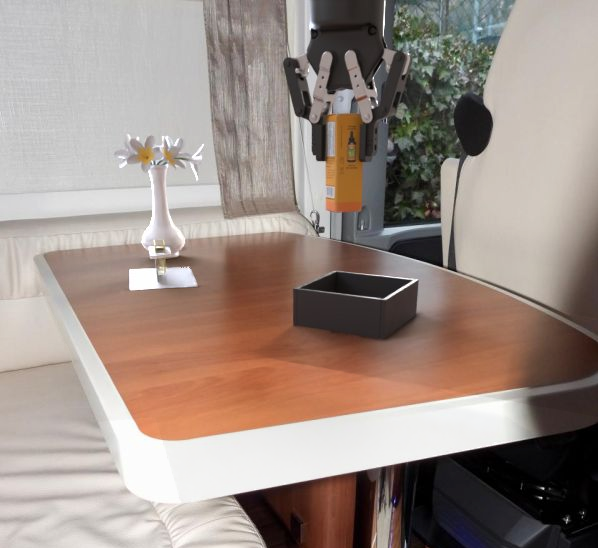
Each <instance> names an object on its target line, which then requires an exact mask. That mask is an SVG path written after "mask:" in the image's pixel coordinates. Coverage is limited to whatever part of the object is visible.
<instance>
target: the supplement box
mask: <svg viewBox="0 0 598 548" xmlns="http://www.w3.org/2000/svg"><path fill="white" fill-rule="evenodd" d="M360 124H363V121H362V118H361V114H360V112H359V113H354V112H344V113H339V112H338V113H337V112H336V113H330V114H329V115H327V116H326V161H325V166H324V168H325V174H324V175H325V210H326V211H327V212H331V213H335V214H338V213H339V214H340V213H360V212H362V210H363V176H364V173H363V172H364V162H360V161H359V141H360Z"/></svg>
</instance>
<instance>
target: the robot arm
mask: <svg viewBox="0 0 598 548" xmlns="http://www.w3.org/2000/svg"><path fill="white" fill-rule="evenodd" d="M385 16H386V0H309V31H310V39H309V43H308V45H307V48H306V52H304V53H302V54H300V55H297V56H295V57H289V56H288V57H285V58H284V59H283V61H282V68H283V71H284V75H285V78H286V79H285V80H286V83H287V88H288V91H289V96H290V100H291V103H292V108H293V111H294V115H295V117H297V118H302V119H304V120H306V121H308V122H309V123H310V125H311V153H312V156H315V160H316V162H326V116H327V115H329V114H331V111H332V109H333V104H334V103H335V102H336V100H337V98H338V93H339V92H342V91H345V90H349V91H350V90H351V91H352V92H353V95H354V99H355V100H356V102H357V105H358V109H359V114H361V118H362V121H363V124H360V141H359V161H360V162H363V163H370V162H372V160H373V157H376V156H377V154H378V148H379V146H378V145H379V127H380V123H381V122H382V121H383V120H386V119H387V118H390V117H394V116H395V115H397V113H398V109H399V106H400V103H401V100H402V97H403V93H404V90H405V86H406V84H407V80H408V77H409V73H410V71H411V67H412V64H413V55H412V54H410V53H408V52H404V51H402V50H398V51H397V50H396V51H395V50H392V49H389V48H388V45H387V43H386V41H385V35H384V30H385V18H386V17H385ZM383 63H385V67H384V69H385V73H387V78H386V81H385V85H384V88H383V91H382V95H381V97H380V101H379V104H378V92H377V88H376V82H375V79H374V77H375V75H376V74H377V72H378V71H379V69H380V67H381V66H382V64H383ZM310 67H311V68H312V69H313V72H314V74H315V75H316V77H317V78H316V81H315V85H314V88H313V93H312V96H311V92H310V91H311V90H310V87H309V84H308V79H307V78H308V76H309V75H310V74H309V73H310V70H309V69H310ZM312 98H313V100H312Z"/></svg>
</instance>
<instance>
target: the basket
mask: <svg viewBox="0 0 598 548" xmlns="http://www.w3.org/2000/svg"><path fill="white" fill-rule="evenodd" d="M419 281H420V280H419V279H416V278H409V277H407V278H406V277H397V276H388V275H381V274H380V275H379V274H371V273H362V272H361V273H360V272H353V271H352V272H351V271H343V270H333V271H330V272H328V273H326V274H323V275H321V276H319V277H316V278H314V279H312V280H310V281H308V282H304V283H302V284H300V285H298V286H296V287H294V288H292V326H295V327H302V328H307V329H315V330H319V331H320V330H322V331H326V332H327V331H328V332H334V333H341V334H347V335H354V336H360V337H365V338H366V337H367V338H373V339H379V340H385V339H386V338H387V337H389V336H390V335H392V334H393V333H394V332H396V331H397V330H398V329H399V328H400V327H402V326H403V325H405V324H406V323H408V321H410V320H411V319H412V318H413V317H415V316H417V307H418V297H419V296H418V295H419Z"/></svg>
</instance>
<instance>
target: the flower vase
mask: <svg viewBox="0 0 598 548" xmlns="http://www.w3.org/2000/svg"><path fill="white" fill-rule="evenodd" d="M123 144H124V147H125V148H119V149H117V150H115V152H114V154H113V156H114V157H115V158H118V159H121V160H120V162H119V164H118V168H119V169H122V168H123V167H125V165H126V164H128V165H137V164H140V168H141V171H142V172H143V173H145V174H147V173H149V177H150V181H151V190H152V217H151V220H150V224H149V225H148V226H147V228H146V229H145V230H144V232H143V234H142V236H141V245H142V246H143V248H144V249H145V250H146V251H147V252H149V247H153V246H154V240H163V241H164V244H165V247H169V248H170V251H171V256H170V257H165V259H167V260H168V259H174V258H178V257H179V255H180V251H181V250H182V249H183V248H184V246H185V244H186V239H185V236H184V234H183V232H182V231H181V230H180V229H179V228H178V227H177V226H176V225H175V223H174V221H173V219H172V217H171V213H170V209H169V202H168V193H167V192H168V191H167V176H168V175H167V173H168V169H169V168H170V167H171V169H173V170H174V171H176V170H177V167H178V168H181V169H183V170H186V169H187V164H186V162H188V163H189V164H190V167H191V169H192V171H193V173H194V175H195V176H194V177H195V178H196V181H198V180H199V166H200V165H201V164H202V161H203V155H202V152H203V150H204V149H203V148H204V145H205V143H203V144H202V145H201V146H200V148H199V149H198V150H197V152H196V153H194V155H192V154H191V153H189V152H188V151H187V152H186V151H183V150H184V149H185V139H184V138H182V137H178V138H177V139H176V141H175V143H174V141H173V140H172V138H171V137H170V136H169V135H166V136H164V135H162V136H161V144H160V145H156V137H155V136H154V135H153V134H151V135H149V136H146V137H145V140H144V144H142V143H141V141H140V137H139V136H136V137H135V138H132V137H131V136H130V134H129V133H126V134H125V135H124V139H123ZM155 245H156V246H159V247H163V243H162V242H155ZM157 253H164V251H157ZM160 259H164V258H160Z"/></svg>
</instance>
